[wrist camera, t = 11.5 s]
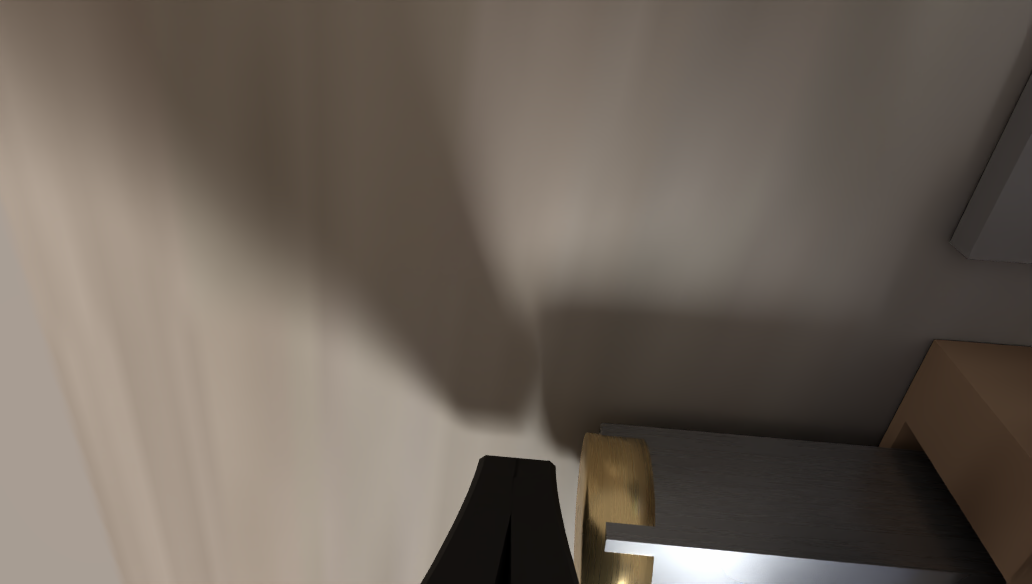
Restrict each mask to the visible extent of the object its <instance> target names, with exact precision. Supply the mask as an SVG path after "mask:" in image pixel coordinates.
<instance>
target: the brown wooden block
mask: <svg viewBox="0 0 1032 584" xmlns="http://www.w3.org/2000/svg"><path fill="white" fill-rule="evenodd" d="M878 447H883V448H895V449H906V450H917V451H925V453H926V454H927V456H928V458H929V459H930V461H931V462H932V464H933V466H934V467H935V469H936V470H937V472H938V474H939V475H940V477H941V478H942V480H943V481H944V483H945V485H946V486H947V488H948V489H949V491H950V493H951V494H952V496H953V497H954V499H955V501H956V502H957V504H958V505H959V507H960V508H961V510H962V512H963V513H964V515H965V516H966V518H967V520H968V521H969V523H970V524H971V526H972V528H973V529H974V531H975V532H976V534H977V535H978V537H979V539H980V540H981V542H982V543H983V545H984V547H985V548H986V550H987V551H988V553H989V555H990V556H991V558H992V559H993V561H994V563H995V564H996V566H997V567H998V569H999V570H1000V572H1001V574H1002V575H1003V577H1004V578H1005V580H1006V582H1007V583H1006V584H1032V347H1025V346H1012V345H999V344H987V343H974V342H961V341H949V340H936V339H934V341H933V343H932V345H931V347H930V349H929V351H928V353H927V354H926V356H925V358H924V360H923V362H922V364H921V366H920V368H919V370H918V372H917V374H916V376H915V377H914V379H913V381H912V383H911V385H910V387H909V389H908V391H907V393H906V395H905V397H904V399H903V400H902V402H901V404H900V406H899V408H898V410H897V412H896V414H895V416H894V418H893V420H892V422H891V423H890V425H889V427H888V429H887V431H886V433H885V435H884V437H883V439H882V441H881V443H880V445H879V446H878Z"/></svg>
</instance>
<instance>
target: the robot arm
mask: <svg viewBox="0 0 1032 584" xmlns="http://www.w3.org/2000/svg"><path fill="white" fill-rule="evenodd" d="M421 584H580V583H579V580H578V577H577V573H576V570H575V566H574V563H573V559H572V556H571V552H570V549H569V545H568V541H567V537H566V533H565V528H564V523H563V519H562V514H561V509H560V504H559V498H558V491H557V482H556V466H555V465H554V464H553V463H552V462H550V461H544V460H533V459H522V458H511V457H500V456H489V455H486V456H484V457H482V458H481V459H479V463H478V466H477V469H476V472H475V475H474V478H473V480H472V483H471V486H470V488H469V491H468V493H467V495H466V498H465V500H464V502H463V504H462V506H461V509H460V511H459V513H458V515H457V517H456V519H455V521H454V523H453V525H452V527H451V529H450V531H449V533H448V535H447V537H446V539H445V541H444V543H443V545H442V546H441V548H440V550H439V552H438V554H437V556H436V558H435V560H434V562H433V563H432V565H431V567H430V569H429V570H428V572H427V574H426V575H425V577H424V579H423V580H422V582H421Z"/></svg>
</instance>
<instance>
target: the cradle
mask: <svg viewBox="0 0 1032 584" xmlns="http://www.w3.org/2000/svg"><path fill="white" fill-rule="evenodd" d="M950 244H951V245H953V246H954V247H955V248H956V249H957V250H958V251H959V252H960V253H961V254H962V255H963V256H964V257H966V258H967V259H974V260H988V261H1001V262H1015V263H1029V264H1032V74H1031V76H1030V78H1029V80H1028V82H1027V84H1026V86H1025V88H1024V90H1023V92H1022V94H1021V97H1020V99H1019V101H1018V103H1017V105H1016V107H1015V109H1014V111H1013V113H1012V115H1011V117H1010V119H1009V121H1008V123H1007V125H1006V127H1005V129H1004V132H1003V134H1002V136H1001V138H1000V140H999V142H998V144H997V146H996V148H995V150H994V152H993V154H992V156H991V158H990V160H989V162H988V164H987V167H986V169H985V171H984V173H983V175H982V177H981V179H980V181H979V183H978V185H977V187H976V189H975V191H974V193H973V195H972V197H971V199H970V202H969V204H968V206H967V208H966V210H965V212H964V214H963V216H962V218H961V220H960V222H959V224H958V226H957V228H956V230H955V232H954V234H953V237H952V239H951V241H950Z"/></svg>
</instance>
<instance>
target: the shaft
mask: <svg viewBox="0 0 1032 584" xmlns="http://www.w3.org/2000/svg"><path fill="white" fill-rule="evenodd" d="M574 566H575V570H576V573H577V577H578V580H579V583H580V584H1006V583H1007V582H1006V580H1005V578H1004V577H1003V575H1002V574H1001V572H1000V570H999V569H998V567H997V566H996V564H995V563H994V561H993V559H992V558H991V556H990V555H989V553H988V551H987V550H986V548H985V547H984V545H983V543H982V542H981V540H980V539H979V537H978V535H977V534H976V532H975V531H974V529H973V528H972V526H971V524H970V523H969V521H968V520H967V518H966V516H965V515H964V513H963V512H962V510H961V508H960V507H959V505H958V504H957V502H956V501H955V499H954V497H953V496H952V494H951V493H950V491H949V489H948V488H947V486H946V485H945V483H944V481H943V480H942V478H941V477H940V475H939V474H938V472H937V470H936V469H935V467H934V466H933V464H932V462H931V461H930V459H929V458H928V456H927V454H926V453H925V451H917V450H906V449H895V448H883V447H872V446H860V445H849V444H837V443H826V442H815V441H803V440H792V439H780V438H769V437H757V436H746V435H735V434H723V433H712V432H700V431H689V430H677V429H666V428H654V427H643V426H632V425H620V424H609V423H601V427H600V434H596V433H586V434H585V436H584V440H583V445H582V451H581V459H580V467H579V477H578V488H577V502H576V518H575V541H574Z"/></svg>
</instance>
